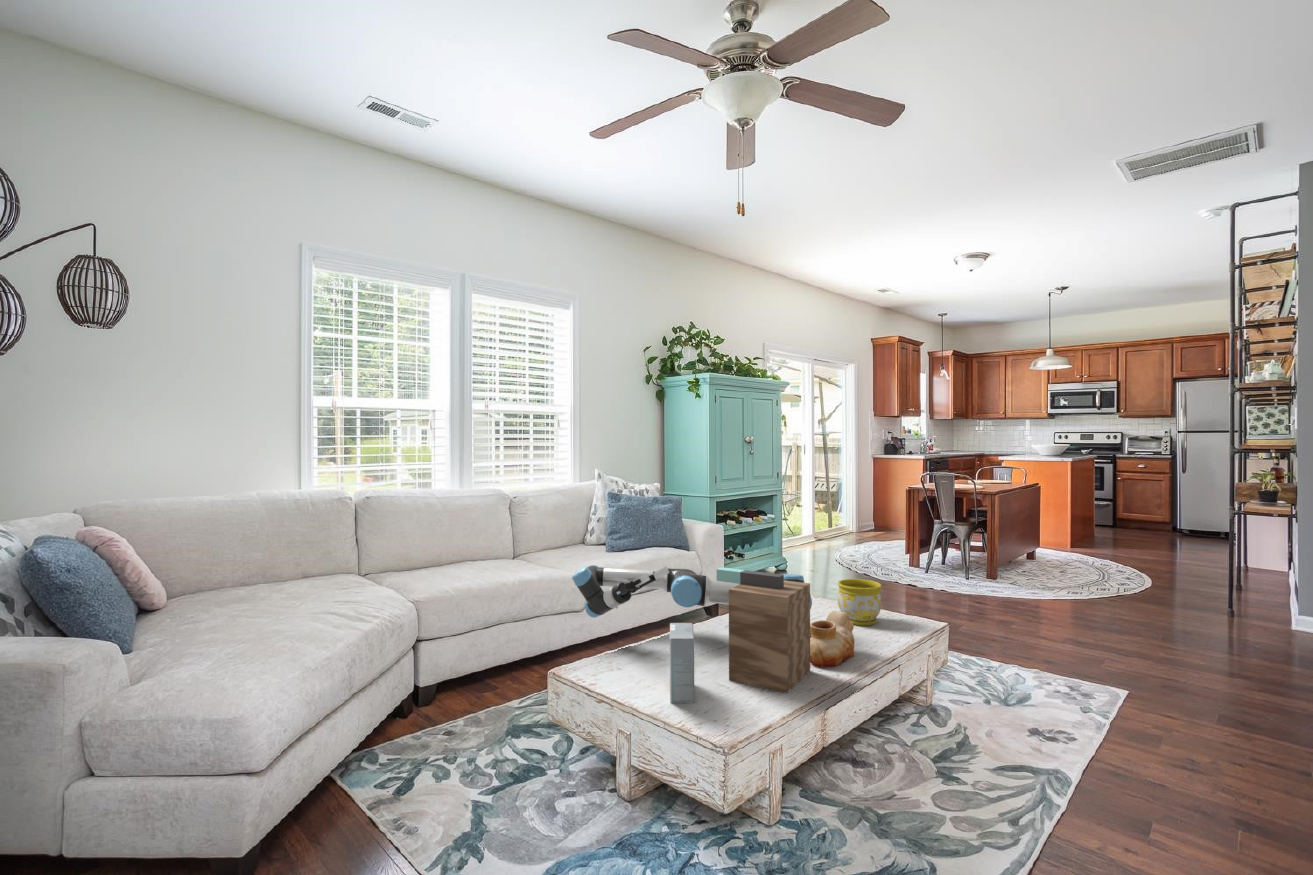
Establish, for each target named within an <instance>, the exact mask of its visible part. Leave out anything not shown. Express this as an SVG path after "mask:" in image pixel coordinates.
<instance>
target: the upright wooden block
mask: <svg viewBox="0 0 1313 875" xmlns="http://www.w3.org/2000/svg"><path fill="white" fill-rule="evenodd" d="M810 595H811V582H810V583H809V582H804V583H803V582H795V581H787V580H784V587H782V588H780V589H774V588H767V587H759V586H752V585H744V584H739V585H737V586H735V587H733V588H731V589H729V604H728V681H730V682H734V683H739V684H744V685H747V684H748V686H752V687H757V688H761V689H767V690H770V689H772V690H771V691H775V690H776V691H775V692H779V691H781V692H780V693H784V692H786V693H785V694H788V693H789V692H790V691H791V690H793V688H794V687H795V686H796V685H797V684H799V683H800V682H801V681H802V680H803V679H804V678H805V677H806V676H807V675H808V674H809V673H810V672H811V663H810V638H811V631H810V624H811V609H810ZM805 675H806V676H805ZM803 677H804V678H803ZM790 689H791V690H790ZM789 690H790V691H789ZM788 691H789V692H788ZM787 692H788V693H787Z"/></svg>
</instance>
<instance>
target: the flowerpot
mask: <svg viewBox="0 0 1313 875" xmlns="http://www.w3.org/2000/svg"><path fill="white" fill-rule="evenodd" d="M837 585H838V596H837V604H838V609H839V612H845V613H846V614H847V615H848V616H849V620H850V621H851V622H852V623H853V626H861V627H862V626H863V627H864V626H872V625H874V624H875V623H876V622H877V621H878V619H877V617H878V616H879V614H880V612H881V609H882V596H881V593H882V591H881V589H882V584H881V583H880V582H878V581H875V580H871V579H862V578H846V579H845V578H844V579H841V580H839V581H838V582H837Z"/></svg>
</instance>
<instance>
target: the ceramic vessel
mask: <svg viewBox="0 0 1313 875" xmlns="http://www.w3.org/2000/svg"><path fill="white" fill-rule="evenodd" d="M854 626H855V625H853V623H852V622H851V621H850V620H849V616H848V615H847V614H846V613H845V612H841V611H837V610H832V611H831V612H829V614H828V615H827V618H826V619H825V620H823V619H822V620H821V619H820V620H816V621H812V622H810V664H811V666H813V667H817V668H827V667H829V668H830V667H831V668H835V667H839V666H841V665H842V664H843V663H844V662H845V661H846V660H848V659H851V658H853V657H855V651H854V649H855V635H854V634H853V630H854ZM841 663H842V664H841Z"/></svg>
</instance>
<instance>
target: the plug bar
mask: <svg viewBox="0 0 1313 875" xmlns="http://www.w3.org/2000/svg"><path fill="white" fill-rule="evenodd" d="M782 574H783V573H781V574H780V573H773V572H763V571H756V570H747V569H741V568H732V567H731V568H729V567H722V566H721V567H719V568H716V581H722V582H729V583H737V584H744V585H752V586H759V587H767V588H774V589H780V588H782V587H784V575H782Z"/></svg>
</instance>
